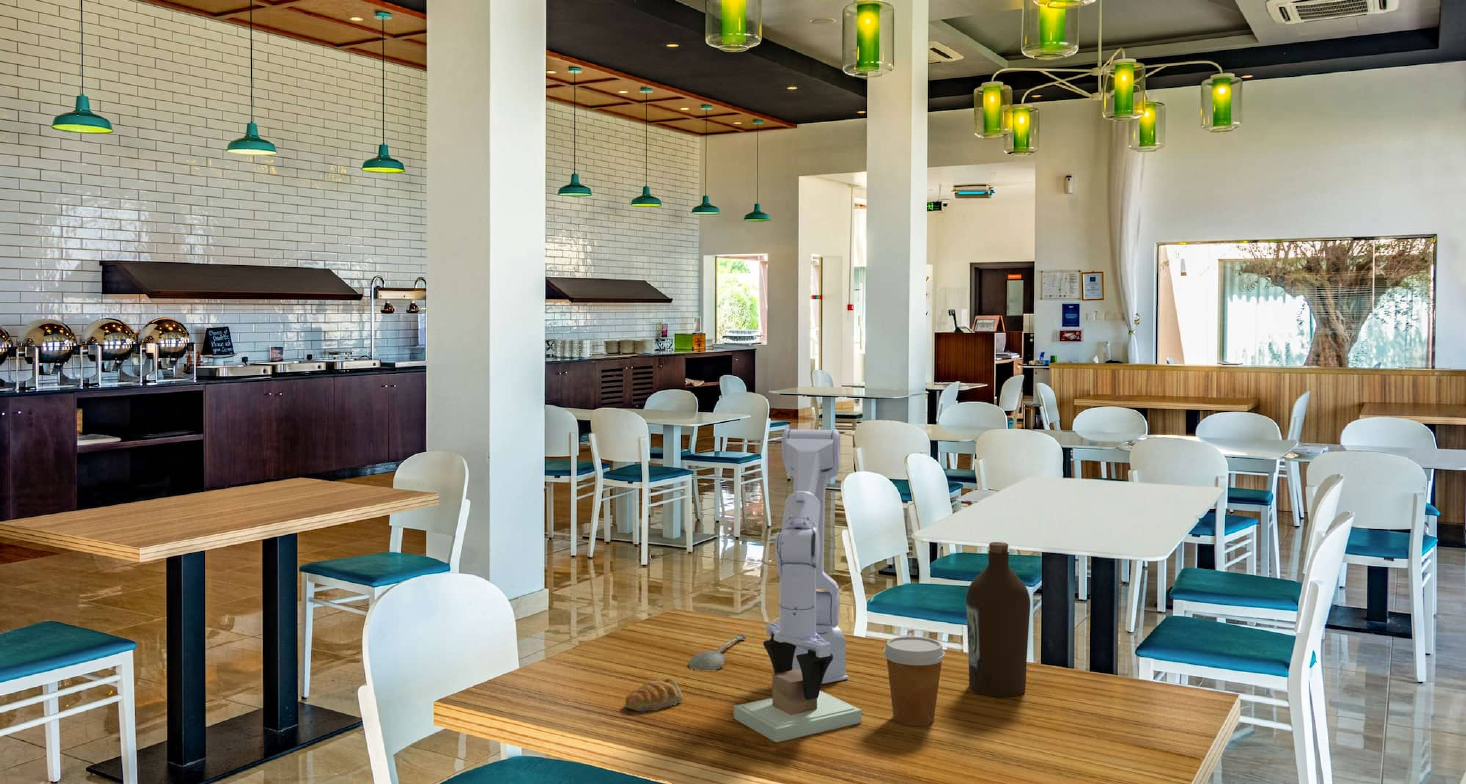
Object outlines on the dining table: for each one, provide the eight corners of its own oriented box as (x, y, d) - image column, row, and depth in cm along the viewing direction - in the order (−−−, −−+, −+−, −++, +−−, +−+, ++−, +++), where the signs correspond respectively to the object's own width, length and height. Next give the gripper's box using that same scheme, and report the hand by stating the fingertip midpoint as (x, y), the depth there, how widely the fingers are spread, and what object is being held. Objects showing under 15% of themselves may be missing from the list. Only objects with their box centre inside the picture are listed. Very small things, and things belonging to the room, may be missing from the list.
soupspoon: (682, 675, 195) (715, 681, 192) (683, 657, 194) (716, 663, 192) (727, 639, 215) (757, 644, 213) (727, 623, 215) (758, 628, 212)
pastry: (641, 717, 170) (641, 694, 170) (615, 707, 175) (615, 684, 175) (686, 704, 177) (686, 681, 176) (659, 694, 181) (659, 672, 181)
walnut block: (798, 700, 171) (798, 669, 171) (817, 709, 167) (817, 677, 167) (772, 705, 168) (772, 674, 168) (790, 715, 164) (790, 682, 164)
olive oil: (1022, 679, 188) (1024, 538, 187) (1035, 699, 178) (1036, 550, 177) (961, 678, 189) (962, 537, 188) (970, 698, 179) (971, 549, 177)
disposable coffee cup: (907, 734, 162) (908, 655, 162) (871, 714, 171) (871, 640, 170) (957, 723, 167) (957, 647, 166) (919, 705, 175) (920, 632, 175)
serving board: (816, 700, 177) (816, 687, 177) (861, 722, 167) (861, 708, 167) (733, 718, 169) (733, 704, 169) (776, 742, 159) (776, 728, 159)
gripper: (751, 599, 171) (751, 683, 172) (803, 619, 159) (803, 709, 160) (787, 593, 175) (787, 676, 176) (841, 612, 163) (841, 701, 163)
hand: (797, 691), depth 168 cm, fingers open, 7 cm apart
